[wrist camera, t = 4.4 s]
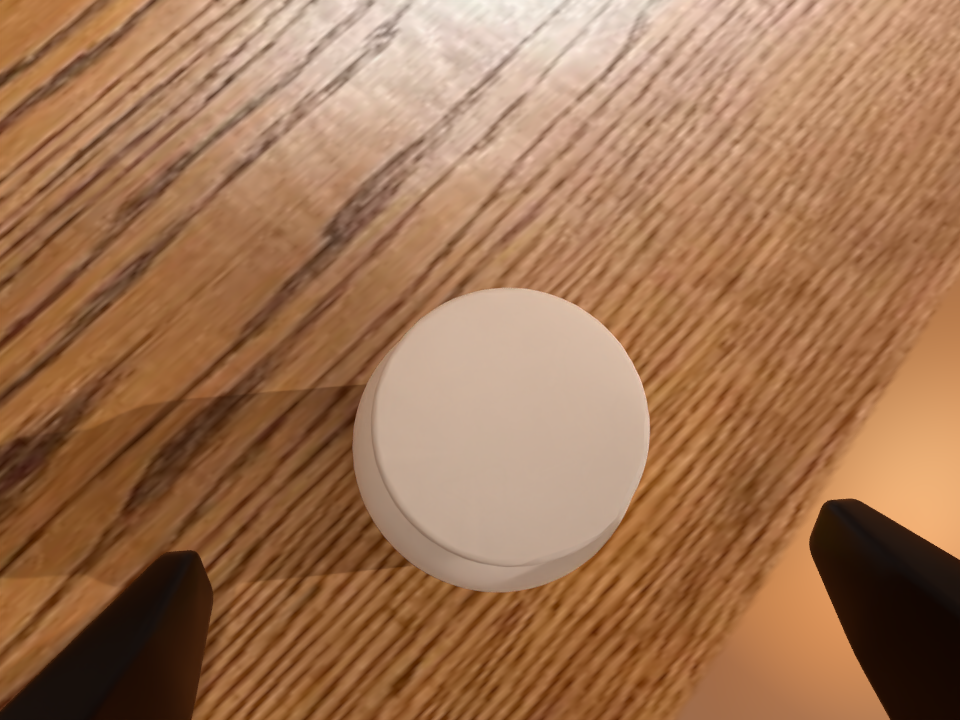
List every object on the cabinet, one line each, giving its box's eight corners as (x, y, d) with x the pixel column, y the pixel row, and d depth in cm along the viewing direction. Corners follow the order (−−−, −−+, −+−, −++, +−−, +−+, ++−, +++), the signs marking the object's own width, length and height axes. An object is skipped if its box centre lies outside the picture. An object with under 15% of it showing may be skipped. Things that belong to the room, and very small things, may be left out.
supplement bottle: (423, 589, 17) (391, 696, 8) (363, 411, 18) (267, 309, 9) (597, 518, 18) (768, 535, 8) (529, 350, 19) (610, 195, 9)
